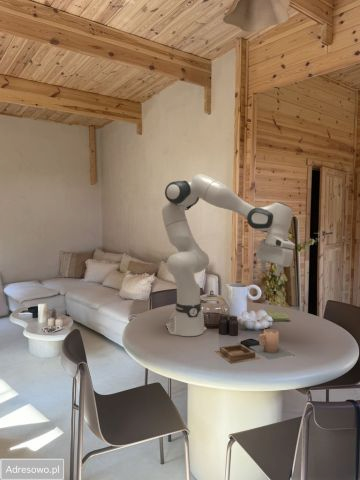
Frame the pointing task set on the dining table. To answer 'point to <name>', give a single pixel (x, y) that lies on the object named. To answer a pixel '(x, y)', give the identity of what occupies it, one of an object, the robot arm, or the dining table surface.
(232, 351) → the walnut stand
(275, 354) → the charcoal board
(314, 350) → the dining table surface
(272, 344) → the orange mug
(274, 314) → the washcloth
